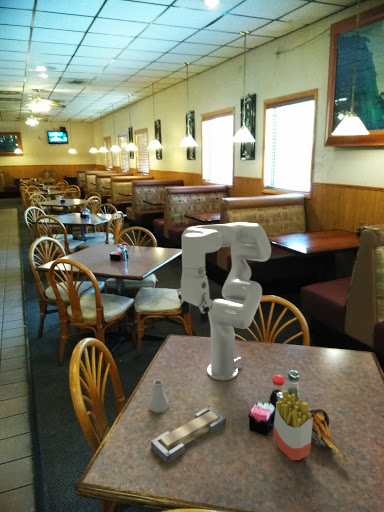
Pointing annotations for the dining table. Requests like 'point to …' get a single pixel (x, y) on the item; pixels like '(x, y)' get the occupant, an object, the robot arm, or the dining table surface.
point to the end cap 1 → (163, 452)
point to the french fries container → (293, 426)
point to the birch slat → (188, 431)
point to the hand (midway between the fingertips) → (194, 318)
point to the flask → (159, 398)
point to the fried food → (323, 431)
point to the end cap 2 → (217, 423)
